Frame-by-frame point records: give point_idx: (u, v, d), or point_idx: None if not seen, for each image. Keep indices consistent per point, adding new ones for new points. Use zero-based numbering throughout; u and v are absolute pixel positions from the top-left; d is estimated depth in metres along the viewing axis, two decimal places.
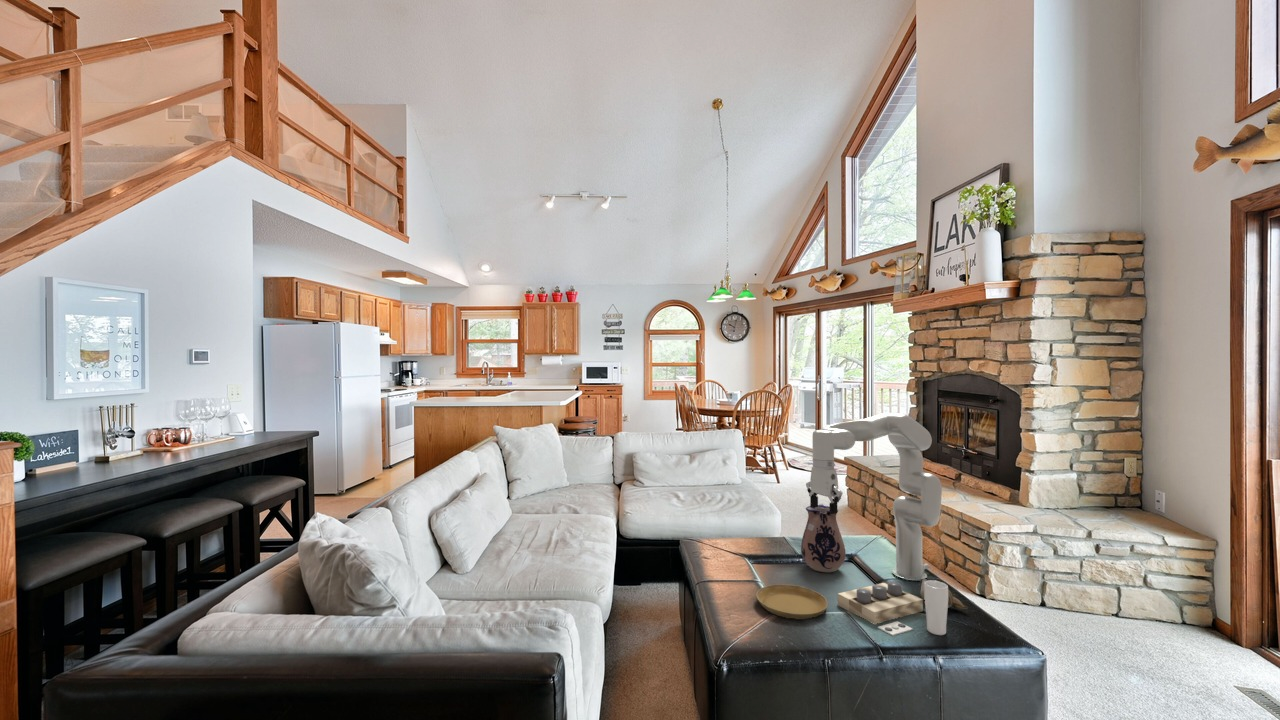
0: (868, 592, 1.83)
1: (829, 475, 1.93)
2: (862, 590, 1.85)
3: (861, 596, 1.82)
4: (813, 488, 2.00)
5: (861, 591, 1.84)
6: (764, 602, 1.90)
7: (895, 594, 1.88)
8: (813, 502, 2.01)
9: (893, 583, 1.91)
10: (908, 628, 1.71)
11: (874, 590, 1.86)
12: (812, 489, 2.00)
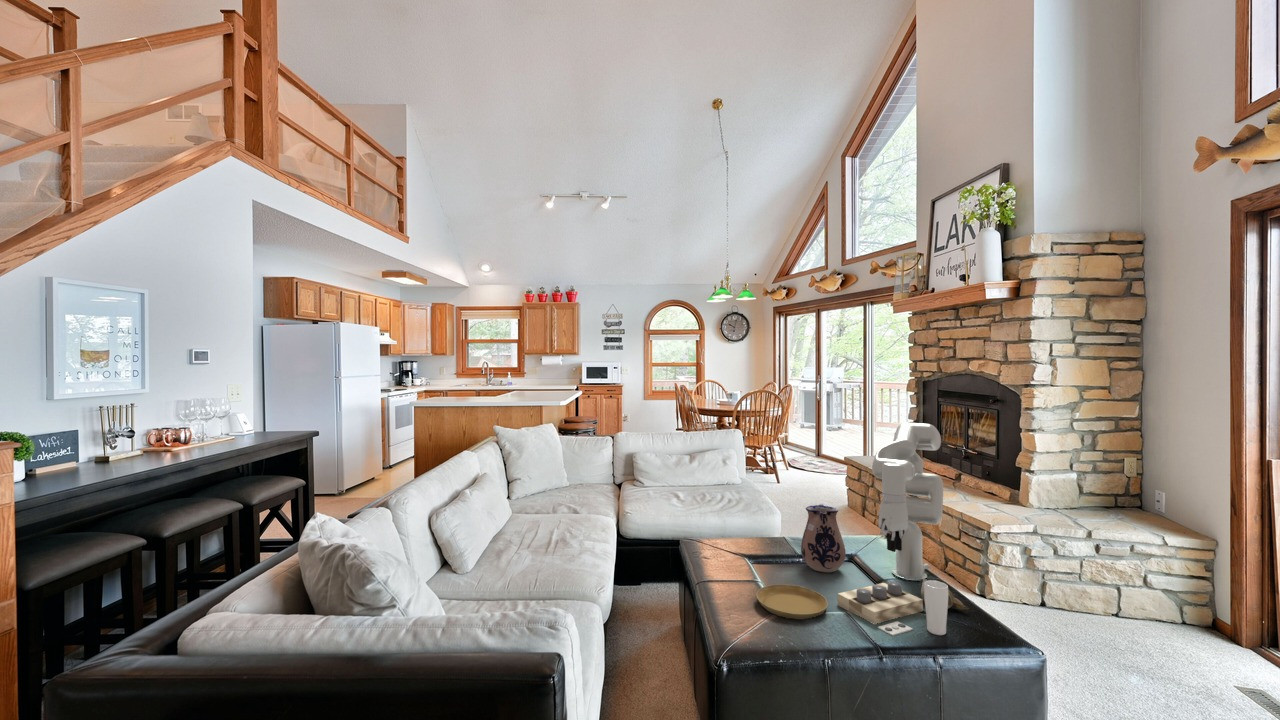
0: (868, 592, 1.83)
1: None
2: (862, 590, 1.85)
3: (861, 596, 1.82)
4: (893, 527, 1.87)
5: (861, 591, 1.84)
6: (764, 602, 1.90)
7: (895, 594, 1.88)
8: None
9: (893, 583, 1.91)
10: (908, 628, 1.71)
11: (874, 590, 1.86)
12: (892, 528, 1.87)
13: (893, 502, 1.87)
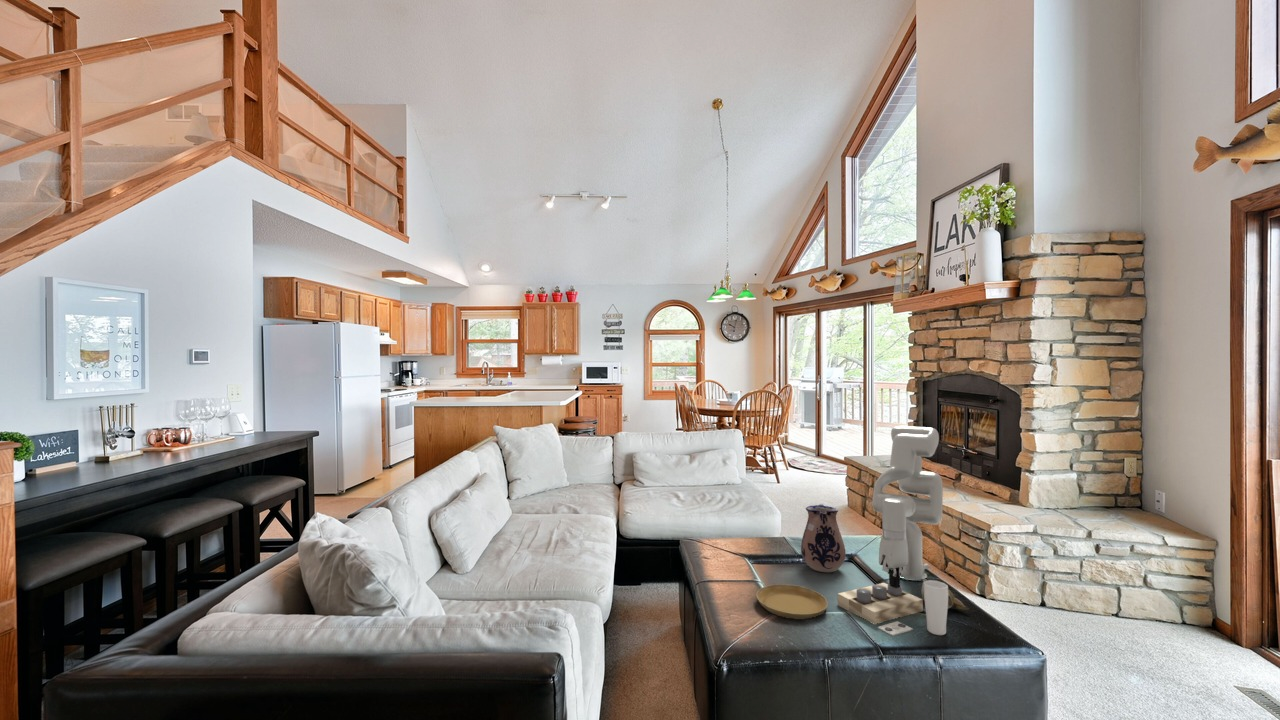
0: (868, 592, 1.83)
1: None
2: (862, 590, 1.85)
3: (861, 596, 1.82)
4: (893, 564, 1.87)
5: (861, 591, 1.84)
6: (764, 602, 1.90)
7: (895, 596, 1.88)
8: None
9: None
10: (908, 628, 1.71)
11: (874, 590, 1.86)
12: (892, 565, 1.87)
13: (893, 539, 1.87)
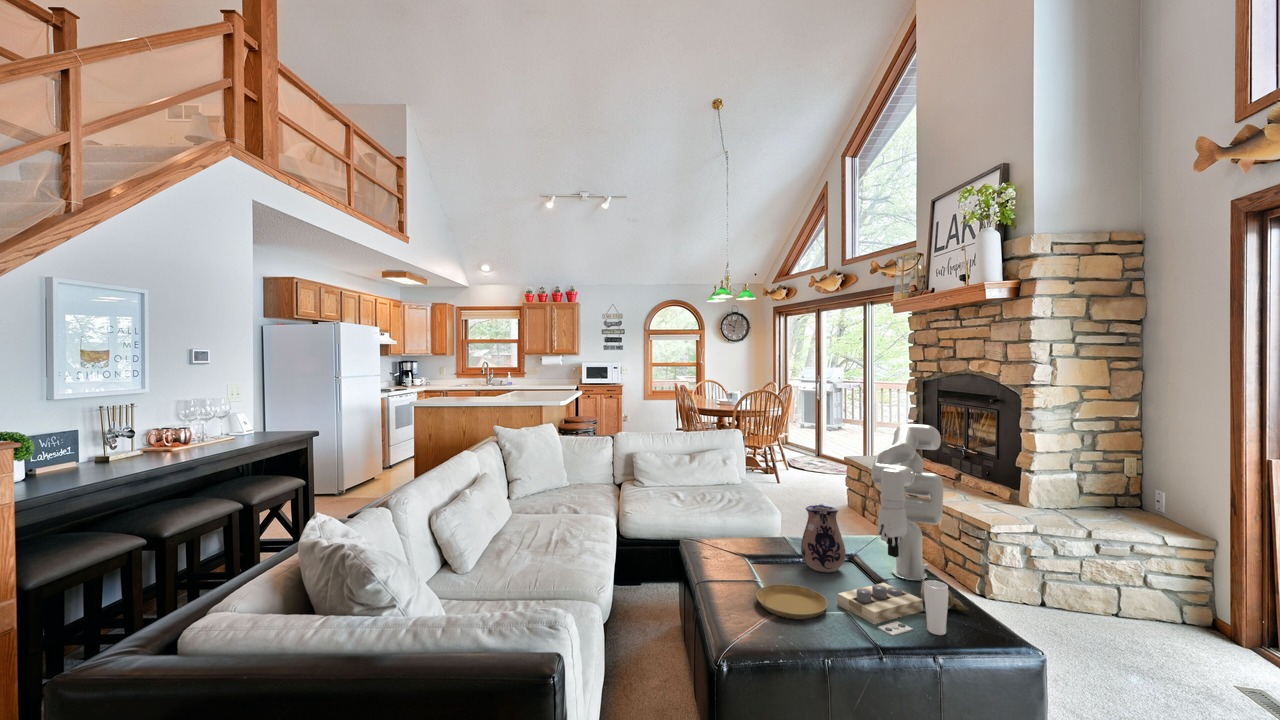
0: (868, 592, 1.83)
1: None
2: (862, 590, 1.85)
3: (861, 596, 1.82)
4: (892, 533, 1.87)
5: (861, 591, 1.84)
6: (764, 602, 1.90)
7: None
8: None
9: (893, 589, 1.91)
10: (908, 628, 1.71)
11: (874, 590, 1.86)
12: (891, 534, 1.87)
13: (892, 508, 1.87)
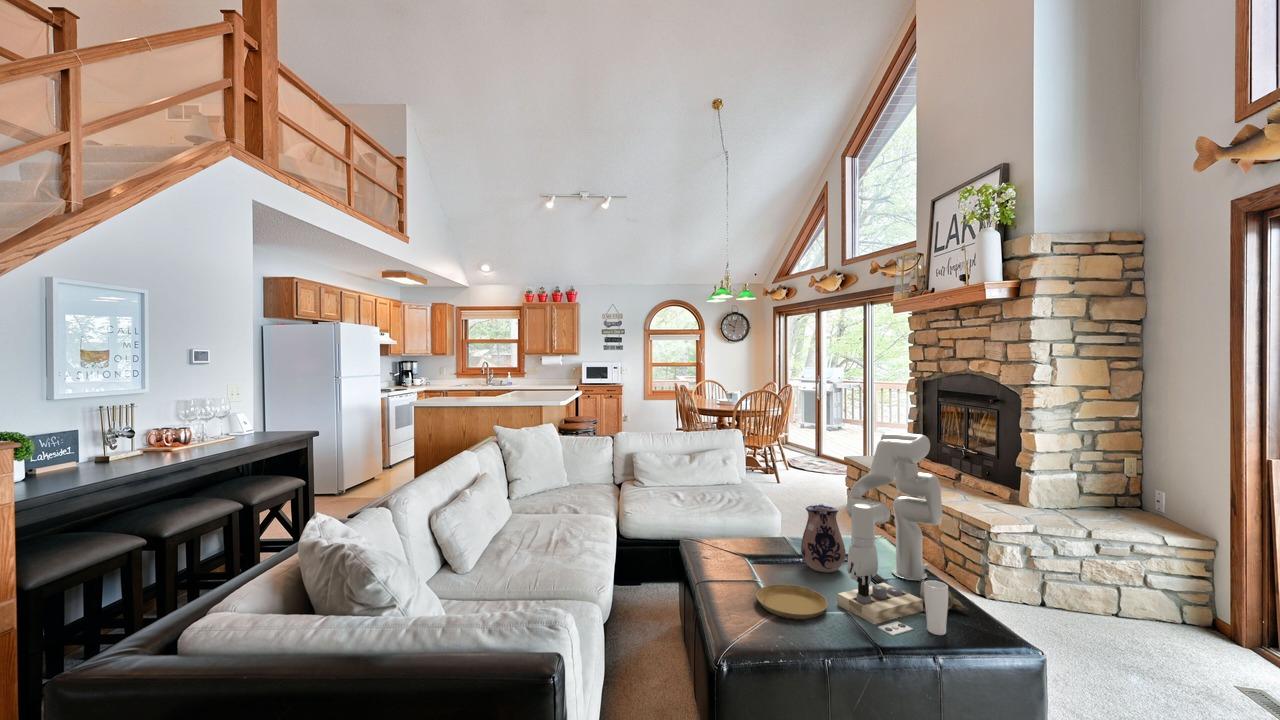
0: None
1: None
2: None
3: (861, 600, 1.82)
4: (862, 572, 1.81)
5: None
6: (764, 602, 1.90)
7: None
8: None
9: (893, 589, 1.91)
10: (908, 628, 1.71)
11: (874, 590, 1.86)
12: (860, 573, 1.80)
13: (862, 546, 1.81)
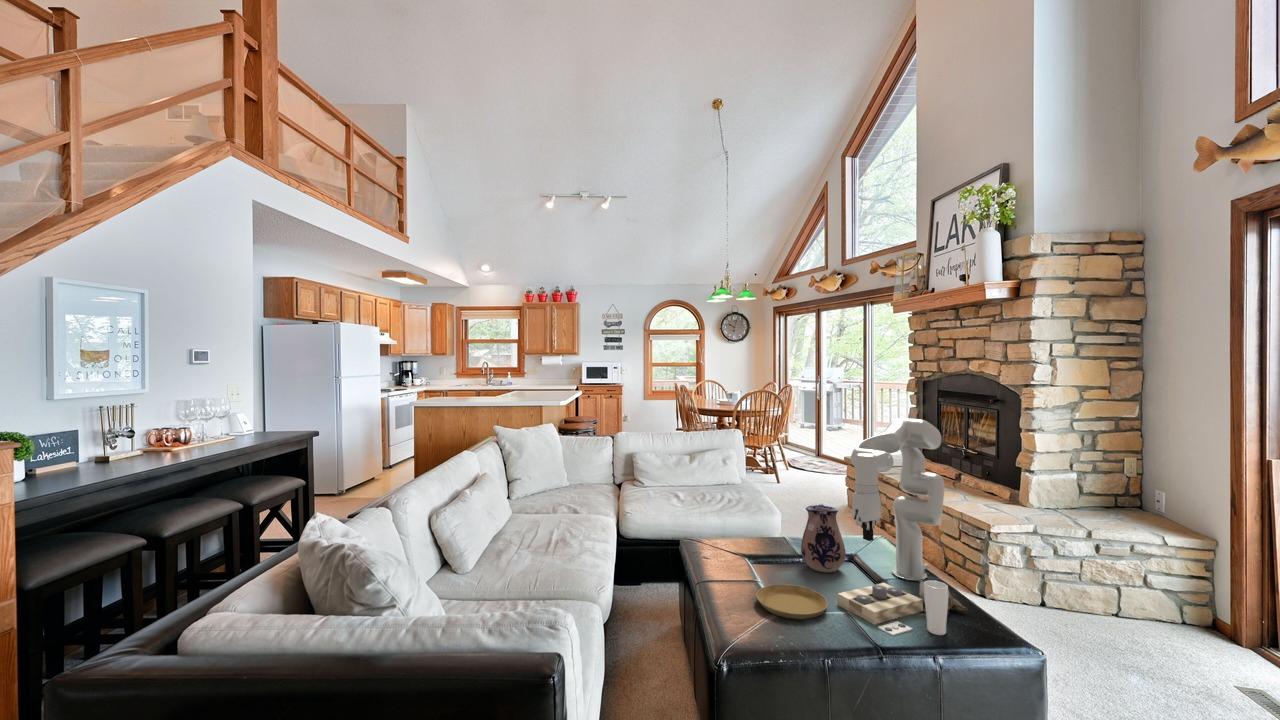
0: (868, 598, 1.83)
1: None
2: (862, 596, 1.85)
3: (861, 602, 1.82)
4: (866, 517, 1.88)
5: (861, 597, 1.84)
6: (764, 602, 1.90)
7: None
8: None
9: (893, 589, 1.91)
10: (908, 628, 1.71)
11: (874, 590, 1.86)
12: (865, 519, 1.88)
13: (866, 493, 1.88)
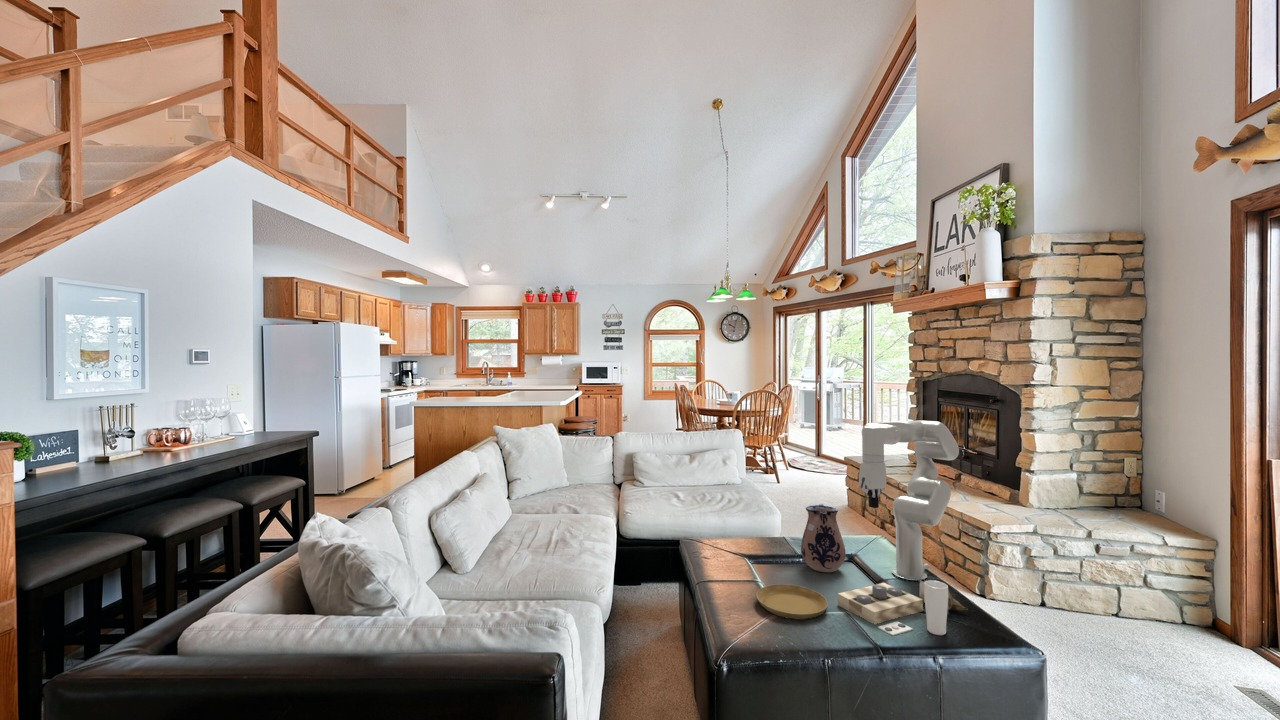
0: (868, 598, 1.83)
1: None
2: (862, 596, 1.85)
3: (861, 602, 1.82)
4: (872, 485, 2.00)
5: (861, 597, 1.84)
6: (764, 602, 1.90)
7: None
8: None
9: (893, 589, 1.91)
10: (908, 628, 1.71)
11: (874, 590, 1.86)
12: (871, 486, 2.00)
13: (872, 462, 2.00)
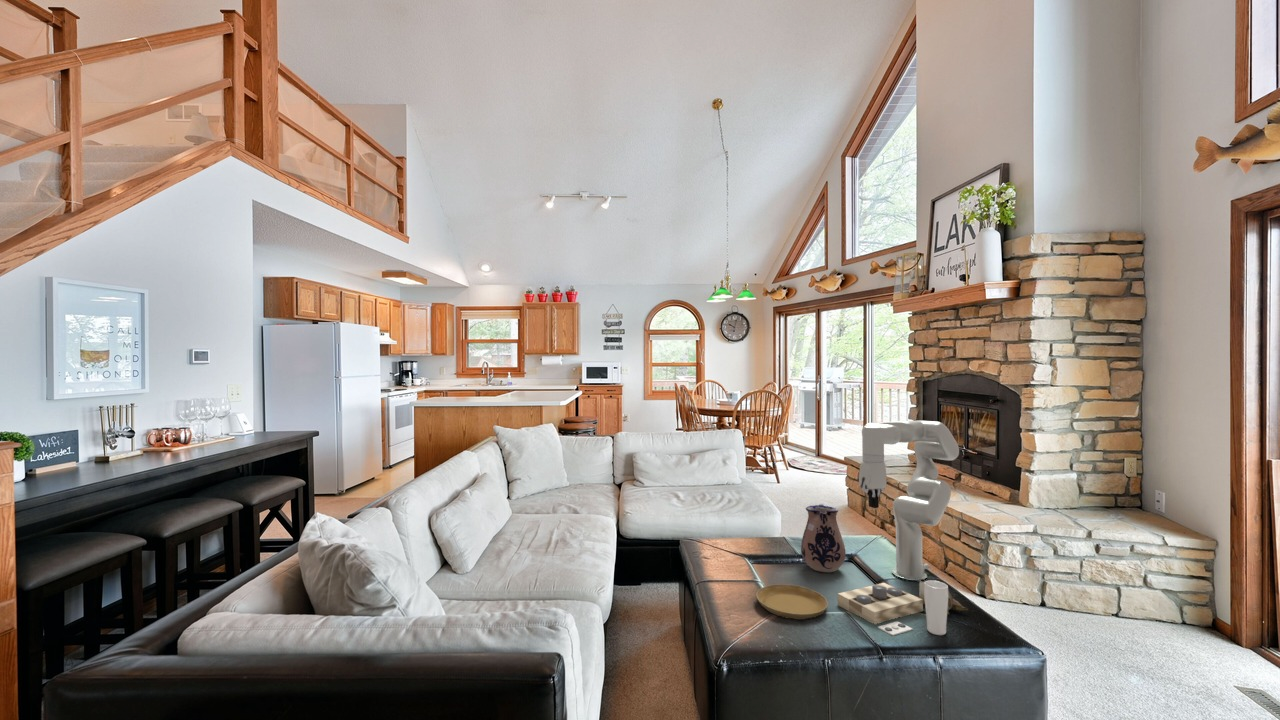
0: (868, 598, 1.83)
1: None
2: (862, 596, 1.85)
3: (861, 602, 1.82)
4: (872, 485, 2.00)
5: (861, 597, 1.84)
6: (764, 602, 1.90)
7: None
8: None
9: (893, 589, 1.91)
10: (908, 628, 1.71)
11: (874, 590, 1.86)
12: (871, 486, 2.00)
13: (872, 462, 2.00)
